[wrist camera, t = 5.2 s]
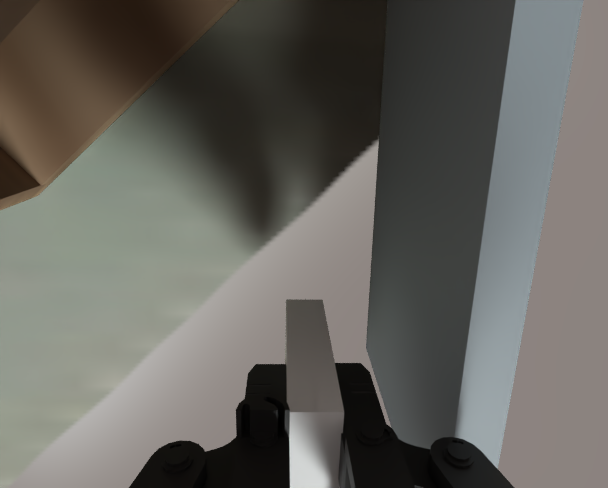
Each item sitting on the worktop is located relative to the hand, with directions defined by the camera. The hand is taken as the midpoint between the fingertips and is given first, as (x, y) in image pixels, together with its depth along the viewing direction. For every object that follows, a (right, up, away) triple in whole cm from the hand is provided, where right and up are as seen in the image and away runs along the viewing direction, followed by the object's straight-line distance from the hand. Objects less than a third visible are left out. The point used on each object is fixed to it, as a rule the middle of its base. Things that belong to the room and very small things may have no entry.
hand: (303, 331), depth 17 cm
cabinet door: (+5, +8, +2) cm, 9 cm away
